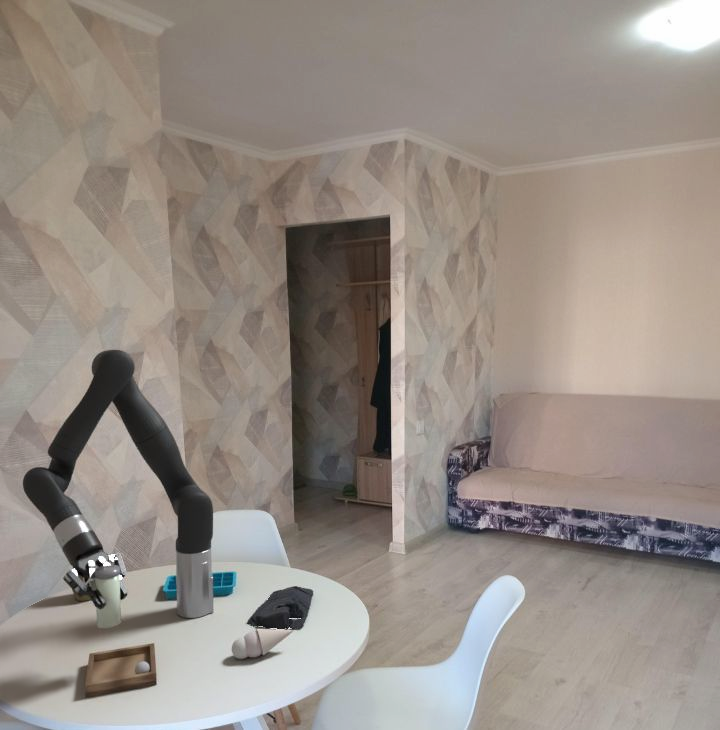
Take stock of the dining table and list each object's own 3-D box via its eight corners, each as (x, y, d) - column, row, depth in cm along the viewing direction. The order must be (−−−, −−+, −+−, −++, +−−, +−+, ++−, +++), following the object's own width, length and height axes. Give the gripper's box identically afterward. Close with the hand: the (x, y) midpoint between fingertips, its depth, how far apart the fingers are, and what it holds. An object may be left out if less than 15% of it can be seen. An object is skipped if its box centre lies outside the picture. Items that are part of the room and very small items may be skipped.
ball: (149, 671, 139) (149, 657, 139) (149, 678, 136) (149, 664, 136) (135, 673, 138) (134, 660, 138) (135, 680, 135) (134, 667, 135)
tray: (154, 653, 149) (154, 643, 149) (156, 684, 136) (156, 673, 136) (89, 664, 144) (89, 653, 144) (85, 697, 131) (85, 685, 131)
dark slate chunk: (322, 597, 181) (322, 581, 180) (300, 634, 159) (300, 615, 159) (270, 593, 184) (270, 577, 183) (242, 629, 162) (242, 610, 162)
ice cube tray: (167, 585, 190) (167, 575, 189) (236, 580, 193) (236, 571, 193) (162, 601, 178) (162, 591, 178) (235, 596, 182) (235, 586, 181)
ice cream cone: (298, 648, 151) (235, 669, 146) (290, 624, 155) (229, 644, 150) (298, 636, 147) (234, 658, 142) (291, 612, 151) (228, 633, 146)
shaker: (122, 616, 145) (120, 563, 144) (121, 626, 140) (119, 571, 139) (97, 619, 143) (95, 566, 142) (95, 630, 138) (93, 575, 137)
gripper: (55, 539, 138) (92, 605, 132) (111, 521, 150) (148, 581, 145) (41, 559, 141) (77, 624, 135) (98, 540, 153) (133, 599, 148)
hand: (113, 601), depth 140 cm, fingers closed on shaker, 5 cm apart
